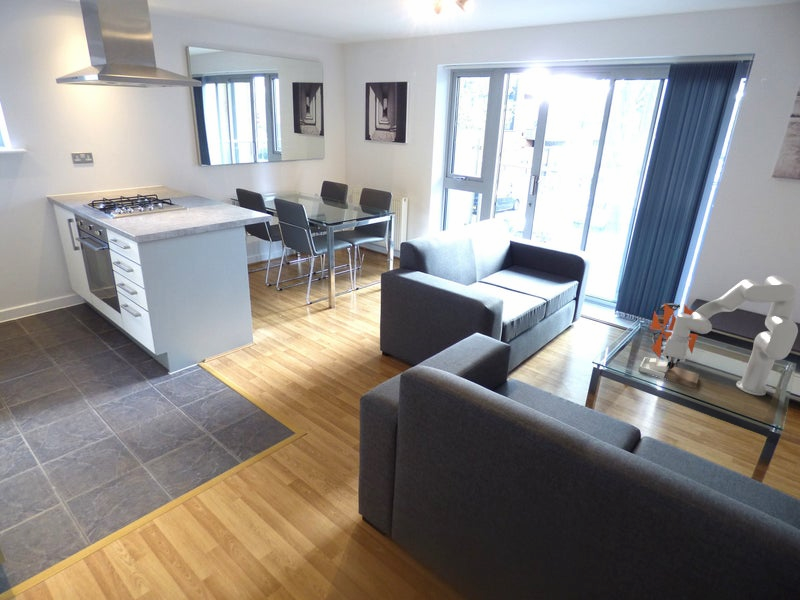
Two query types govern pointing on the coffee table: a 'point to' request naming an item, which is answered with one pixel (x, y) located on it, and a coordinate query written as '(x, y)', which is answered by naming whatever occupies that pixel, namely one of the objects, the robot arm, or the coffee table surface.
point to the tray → (646, 369)
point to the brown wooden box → (682, 376)
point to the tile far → (653, 363)
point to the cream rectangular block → (661, 366)
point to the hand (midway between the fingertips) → (669, 368)
